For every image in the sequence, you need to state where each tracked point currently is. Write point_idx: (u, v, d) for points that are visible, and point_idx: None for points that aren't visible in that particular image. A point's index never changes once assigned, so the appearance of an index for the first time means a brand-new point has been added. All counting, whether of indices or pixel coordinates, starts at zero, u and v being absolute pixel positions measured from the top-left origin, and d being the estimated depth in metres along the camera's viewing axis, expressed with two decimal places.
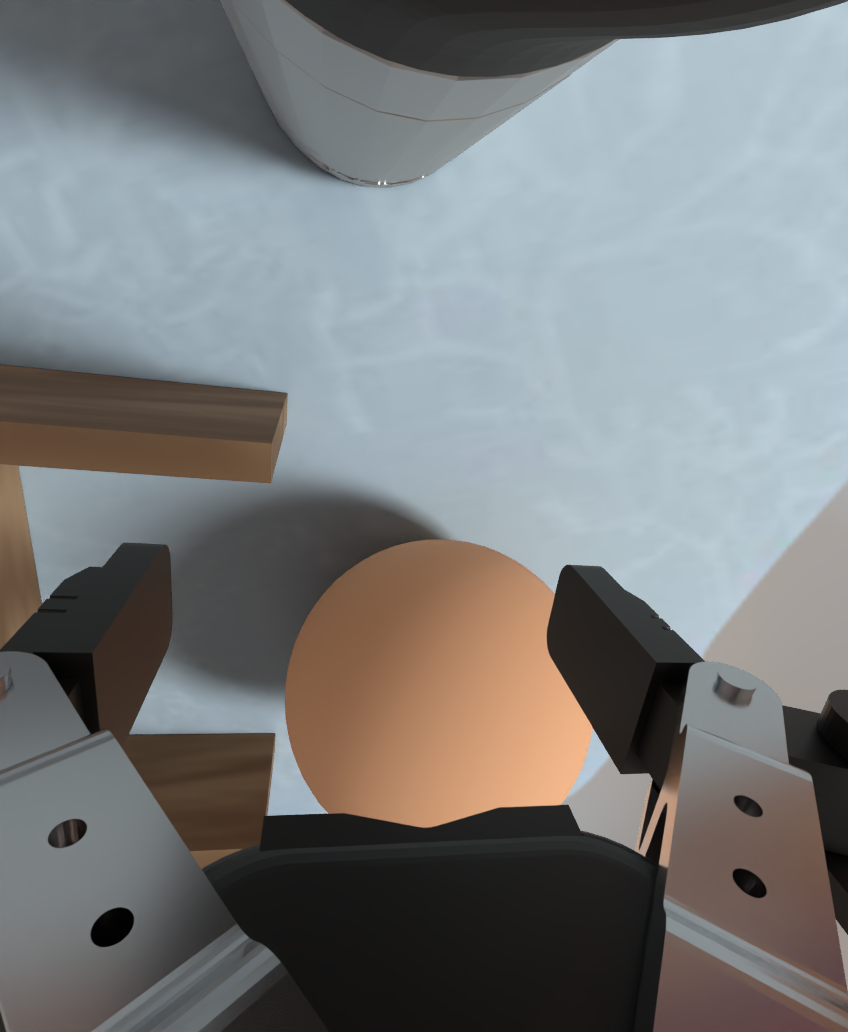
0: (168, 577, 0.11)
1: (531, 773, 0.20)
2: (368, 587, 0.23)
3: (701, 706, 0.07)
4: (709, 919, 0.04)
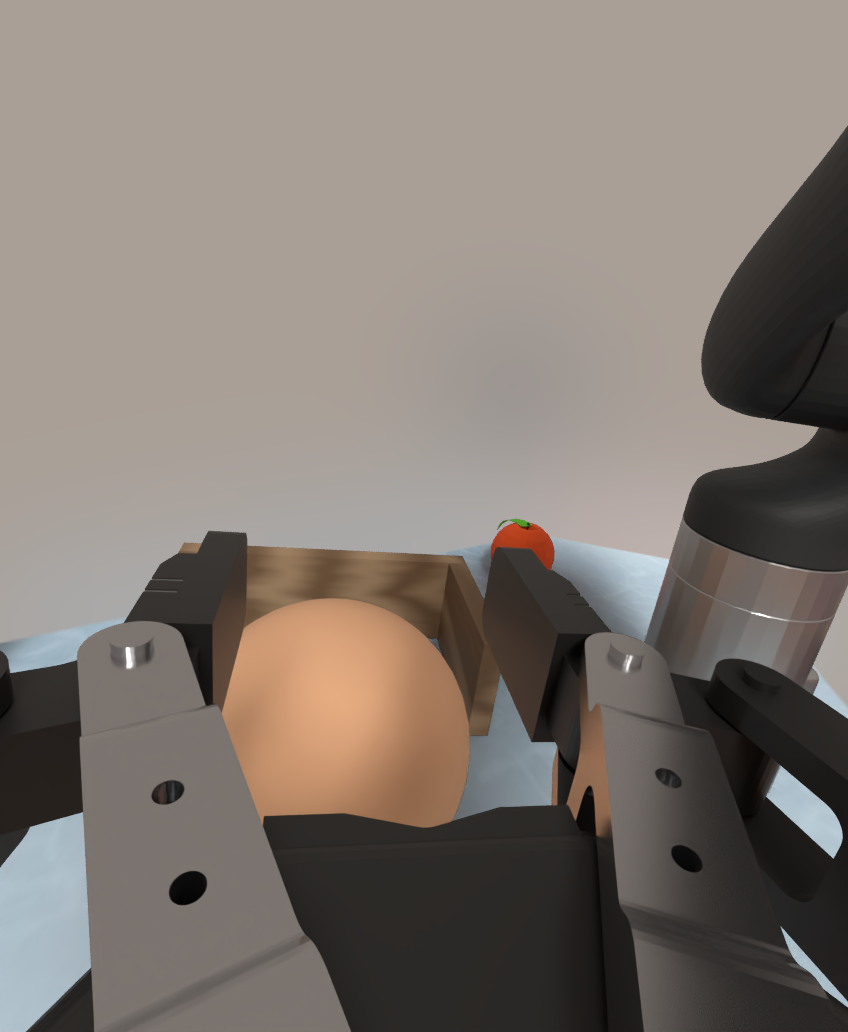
0: (245, 563, 0.12)
1: (382, 657, 0.24)
2: None
3: (602, 679, 0.08)
4: (663, 909, 0.04)
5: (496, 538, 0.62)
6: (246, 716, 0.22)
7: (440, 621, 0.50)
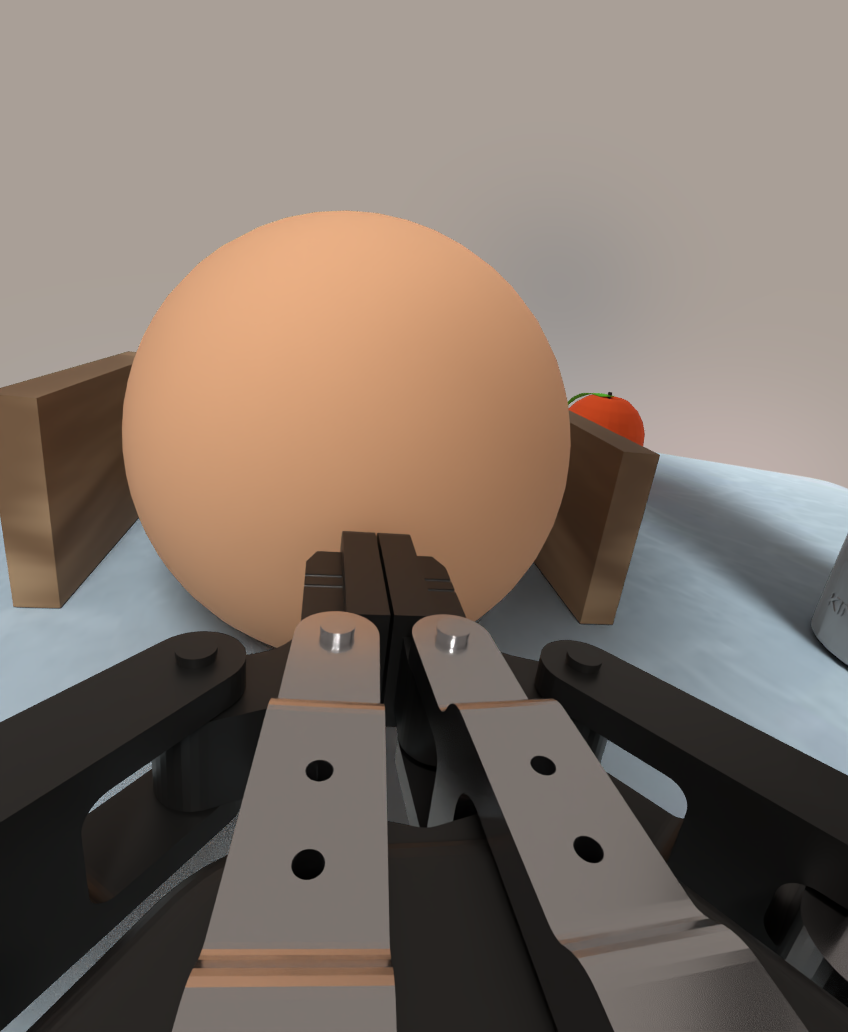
0: None
1: None
2: None
3: (440, 670, 0.08)
4: (592, 920, 0.04)
5: None
6: None
7: None
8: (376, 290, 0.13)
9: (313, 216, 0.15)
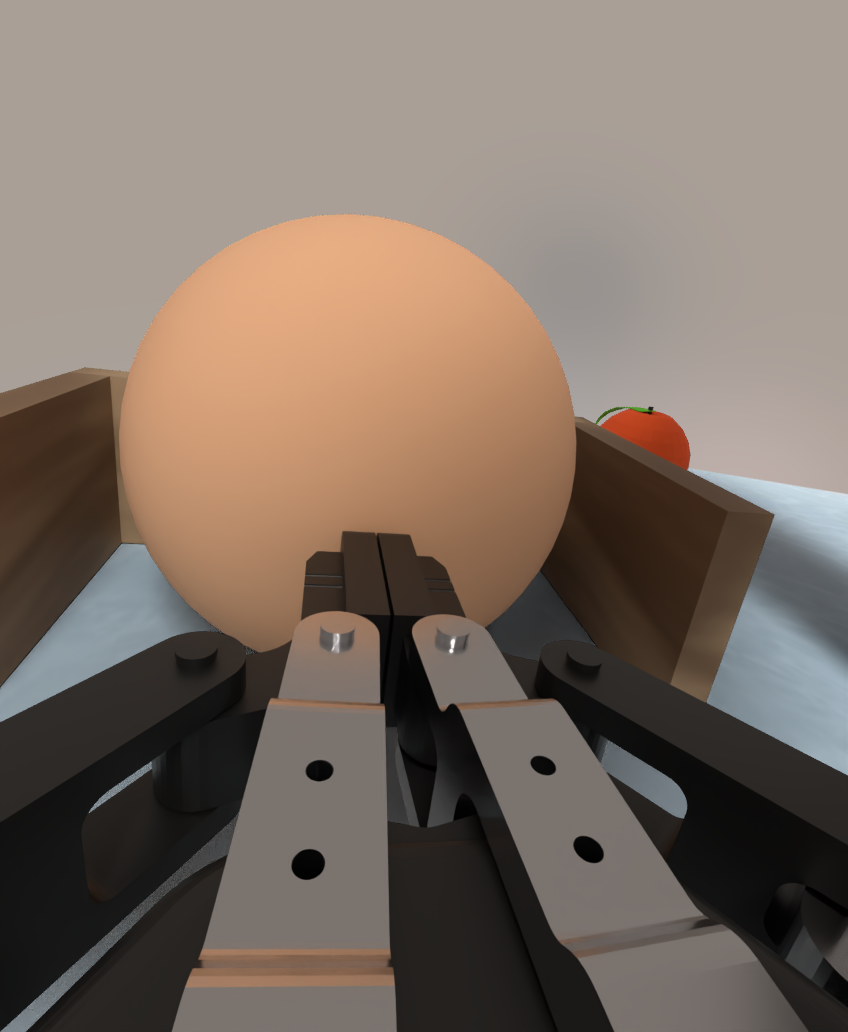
0: None
1: None
2: None
3: (440, 670, 0.08)
4: (592, 920, 0.04)
5: None
6: None
7: None
8: None
9: None
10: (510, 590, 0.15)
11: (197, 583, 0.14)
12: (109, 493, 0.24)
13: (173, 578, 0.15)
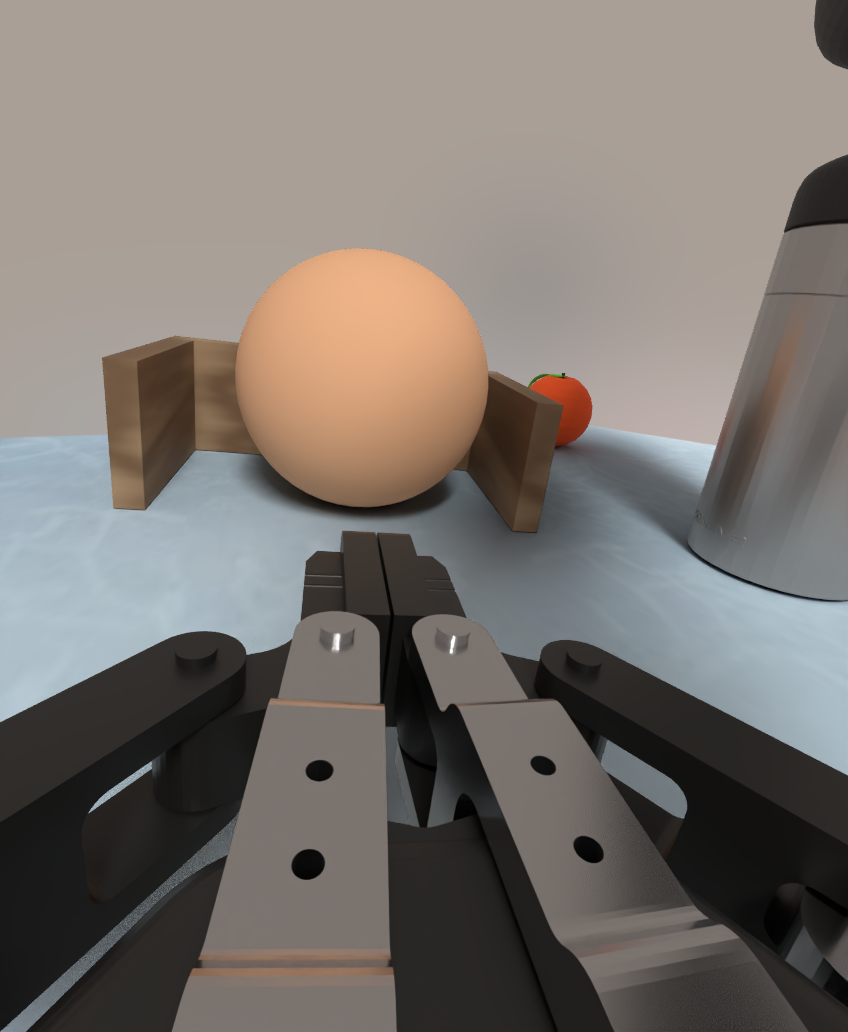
0: None
1: None
2: None
3: (440, 670, 0.08)
4: (592, 920, 0.04)
5: None
6: None
7: (471, 447, 0.43)
8: (396, 255, 0.29)
9: None
10: (430, 476, 0.30)
11: (275, 441, 0.28)
12: (191, 413, 0.38)
13: (260, 436, 0.29)
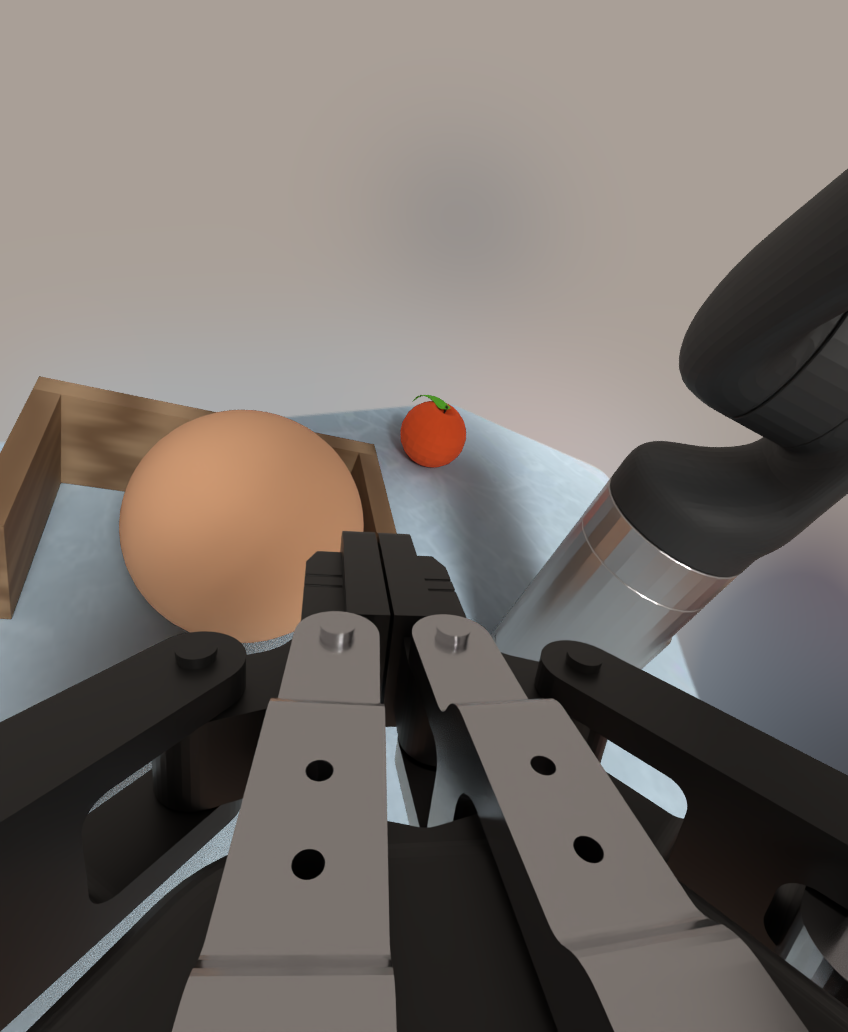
0: None
1: None
2: None
3: (440, 670, 0.08)
4: (592, 920, 0.04)
5: (410, 414, 0.58)
6: None
7: None
8: (305, 474, 0.30)
9: (274, 423, 0.31)
10: None
11: (150, 604, 0.31)
12: (57, 461, 0.38)
13: (137, 587, 0.31)
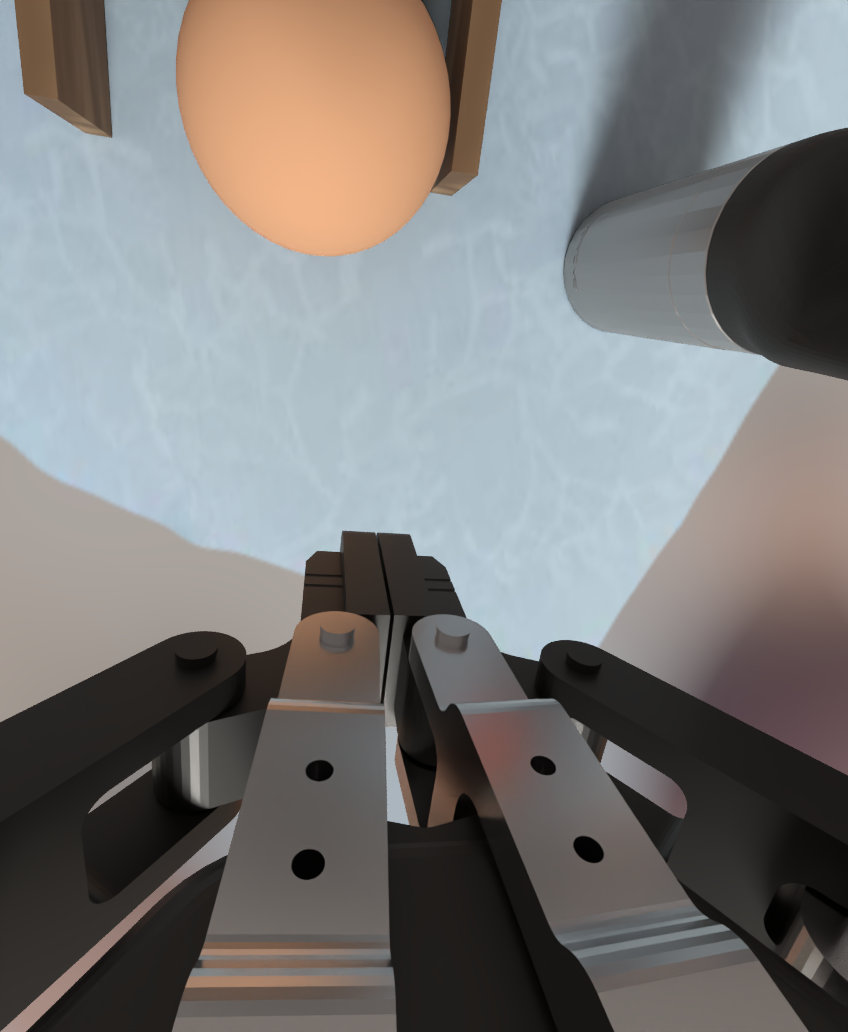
0: None
1: None
2: None
3: (440, 670, 0.08)
4: (592, 920, 0.04)
5: None
6: None
7: None
8: (365, 164, 0.26)
9: (338, 61, 0.24)
10: None
11: None
12: None
13: None
